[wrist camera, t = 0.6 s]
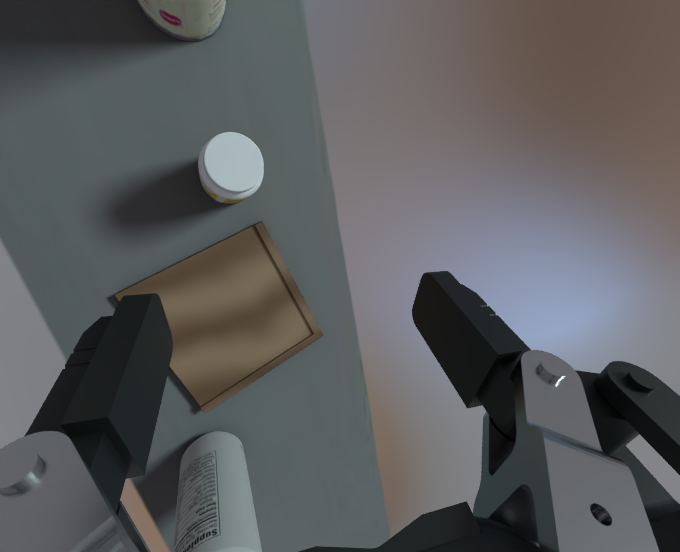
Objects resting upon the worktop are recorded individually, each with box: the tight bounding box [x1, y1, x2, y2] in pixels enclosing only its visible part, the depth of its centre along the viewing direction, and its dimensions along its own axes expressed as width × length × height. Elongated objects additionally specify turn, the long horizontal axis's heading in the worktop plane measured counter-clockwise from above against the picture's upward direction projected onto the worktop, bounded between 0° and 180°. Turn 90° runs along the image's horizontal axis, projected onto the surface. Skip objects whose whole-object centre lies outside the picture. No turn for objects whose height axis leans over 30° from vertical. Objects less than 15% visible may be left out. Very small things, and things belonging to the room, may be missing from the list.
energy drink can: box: [173, 431, 262, 552], centre depth 26 cm, size 6×6×15 cm
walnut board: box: [115, 221, 323, 413], centre depth 31 cm, size 14×14×1 cm
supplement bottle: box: [198, 132, 264, 204], centre depth 25 cm, size 5×5×8 cm
